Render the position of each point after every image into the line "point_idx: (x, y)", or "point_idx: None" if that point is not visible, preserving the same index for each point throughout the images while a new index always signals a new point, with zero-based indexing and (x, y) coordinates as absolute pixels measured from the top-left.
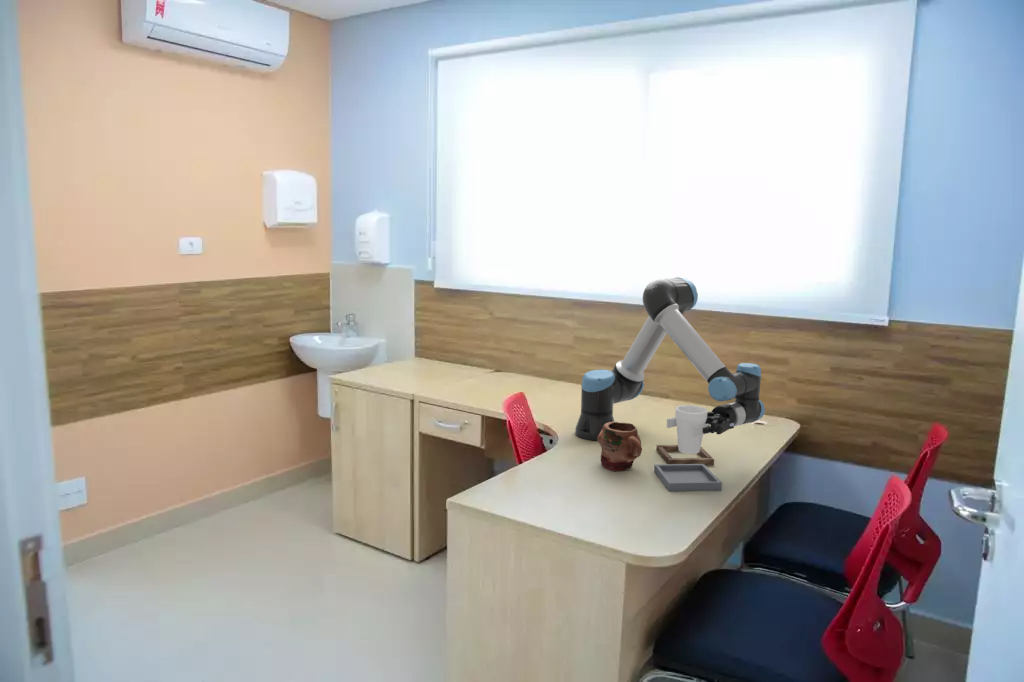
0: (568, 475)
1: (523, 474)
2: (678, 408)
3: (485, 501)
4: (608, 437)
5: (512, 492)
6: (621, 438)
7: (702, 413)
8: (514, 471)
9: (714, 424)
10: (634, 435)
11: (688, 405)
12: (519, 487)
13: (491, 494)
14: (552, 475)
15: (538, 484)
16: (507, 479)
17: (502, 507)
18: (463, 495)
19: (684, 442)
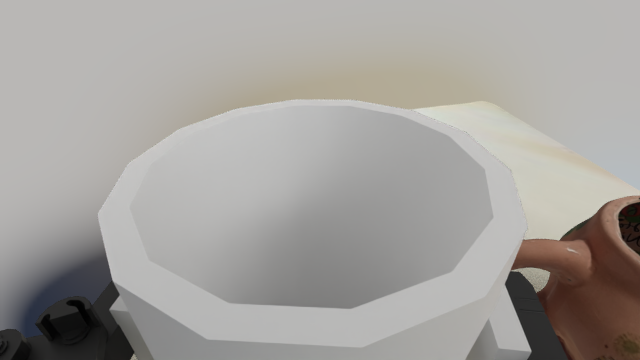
0: (551, 221)
1: (581, 174)
2: (452, 155)
3: (467, 112)
4: (626, 215)
5: (487, 135)
6: (583, 225)
7: (151, 152)
8: (606, 172)
9: (48, 328)
10: (599, 264)
11: (487, 258)
12: (506, 147)
13: (490, 122)
14: (560, 201)
15: (510, 166)
16: (556, 151)
17: (437, 114)
18: (500, 108)
19: (309, 296)
